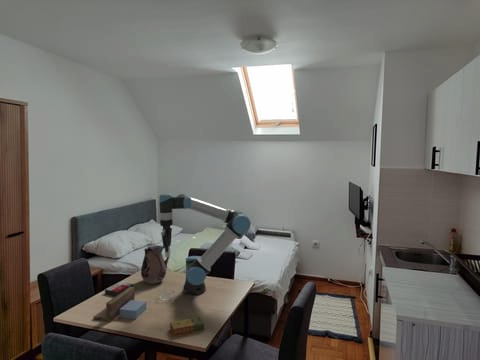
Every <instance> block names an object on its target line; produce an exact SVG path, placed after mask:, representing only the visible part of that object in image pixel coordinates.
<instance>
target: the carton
mask: <svg viewBox="0 0 480 360" xmlns="http://www.w3.org/2000/svg"><path fill="white" fill-rule="evenodd" d="M169 330H170V332H171V335H172V337H174V338H175V337H179V336H184V335H190V334H195V333H200V332H203V331H205V323H204V322H203V320H202V318H201V317H200V316H198V317H194V318H187V319H182V320H176V321H170V323H169Z"/></svg>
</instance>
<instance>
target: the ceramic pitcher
mask: <svg viewBox="0 0 480 360" xmlns="http://www.w3.org/2000/svg"><path fill="white" fill-rule="evenodd" d="M163 250H165V247H163V245H149V246H147V248H144V257H143V261H142V264H141V268H140V273H141V274H140V275H141V278H142V279H143V281H144V282H145V283H147V284H150V285H151V284H152V285H153V284H158V283H160V282H162V281H163V279H165V277H166V274H167V269H168V262H169V259H170V257H166V259H164V256H163Z"/></svg>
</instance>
